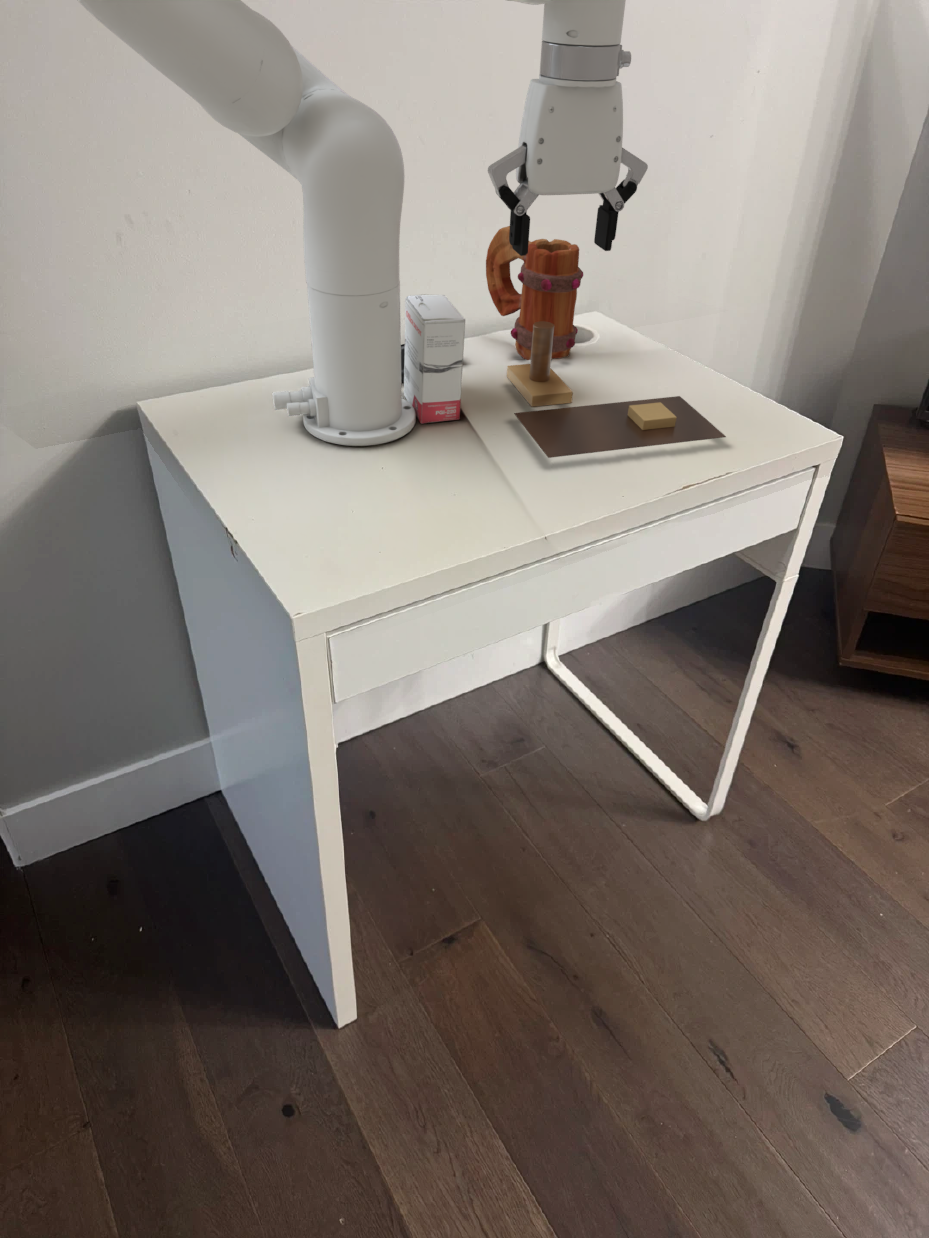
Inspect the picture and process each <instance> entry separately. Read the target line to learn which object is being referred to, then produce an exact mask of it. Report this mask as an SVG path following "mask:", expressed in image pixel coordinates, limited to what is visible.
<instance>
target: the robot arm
mask: <svg viewBox="0 0 929 1238" xmlns="http://www.w3.org/2000/svg"><path fill="white" fill-rule="evenodd" d="M77 1H78V3H79V4H80V5H81V6H82V7H83V8H84V9H85V10H86V11H87V12H88V13H89V14H90V15H92V16H93V17H94V18H95V19H96V20H97V21H98V22H99V23H101V24H102V25H103V26H104V27H105V28H106V29H108V30H109V31H110V32H111V33H112V34H114V35H115V36H116V37H117V38H119V39H120V40H121V41H122V42H123V43H125V44H126V45H127V46H128V47H130V48H131V49H132V50H133V51H134V52H135V53H137V54H139V56H141V57H142V58H143V59H144V60H145V61H146V62H147V63H149V65H151V66H152V67H153V68H154V69H156V70H157V71H158V72H159V73H161V74H162V75H163V76H165V77H166V78H167V79H168V80H169V81H171V82H172V83H173V84H174V85H176V86H177V87H178V88H180V89H181V90H182V91H184V92H185V93H186V94H187V95H188V96H189V97H191V98H192V99H194V101H195V102H197V104H199V106H201V107H202V109H203V110H204V111H205V112H206V114H208V116H210V118H212V119H213V120H214V121H215V122H217V123H218V124H220V125H221V126H223V127H224V128H226V129H228V130H230V131H232V132H234V133H237V134H238V135H240V136H241V137H242V138H243V139H245V140H246V141H247V142H249V143H250V145H252V146H253V147H255V148H256V149H257V150H258V151H260V152H261V153H263V154H264V155H265V156H266V157H267V158H268V159H270V160H272V161H273V162H274V163H276V164H277V165H278V166H279V167H281V168H282V169H283V170H285V171H286V172H287V173H289V174H290V175H291V176H292V177H293V178H294V179H295V180H297V181H298V183H299V184H300V185H301V189H302V191H301V192H302V203H303V204H302V205H303V208H302V209H303V217H302V218H303V225H302V228H303V232H302V235H303V238H302V239H303V259H304V260H303V262H304V263H303V264H304V273H305V274H304V275H305V283H306V291H307V306H308V317H309V330H310V331H309V332H310V340H311V355H312V367H313V368H312V369H313V377H308V385H307V386H301V387H300V390H293V391H289V390H282V391H281V390H279V391H272V393H271V395H272V404H273V409H274V411H277V410H278V411H279V410H286V411H287V417H295V416H300V415H302V420H303V421H302V422H303V426H304V428H305V430H306V431H307V432H308V433H309V434H311V435H312V436H314V437H315V438H317V439H319V440H322V441H323V442H326V443H331V444H333V445H340V446H350V447H367V446H368V447H369V446H376V445H381V444H386V443H389V442H393V441H396V440H398V439H400V438H402V437H404V436H405V435H407V434H408V433H410V432H411V431H412V429H414V427H415V425H416V418H417V416H416V413H415V409H414V407H413V406H412V405H411V404H410V403H409V402H408V401H407V399H406V398H403V397H402V396H403V395H402V394H403V393H402V391H403V390H402V389H403V388H402V382H401V345H402V334H401V333H402V332H401V330H402V329H401V326H402V325H401V324H402V323H401V322H402V321H401V280H400V279H401V278H400V237H401V236H400V235H401V231H400V230H401V221H402V211H403V202H404V195H405V194H404V193H405V164H404V163H405V162H404V157H403V152H402V149H401V146H400V142H399V140H398V139H397V136H396V134H395V132H394V130H393V129H392V128H391V126H390V125H389V123H388V122H387V121H386V120H385V119H384V117H383V116H382V115H380V114H379V113H378V112H377V111H376V110H374V108H372V107H370V106H368V105H367V104H365V103H364V102H362V101H360V100H358V99H356V98H354V97H353V96H351V95H350V94H348V93H347V92H345V91H344V90H343V89H342V88H341V87H340V86H338V84H336V83H335V82H333V81H332V79H331V78H329V77H328V76H326V74H324V72H322V71H321V70H320V68H319V69H318V67H317V66H315V65H314V64H313V63H312V62H311V61H310V60H309V59H307V58H306V56H304V55H303V54H302V53H301V52H300V51H298V49H296V48H295V46H293V45H292V44H291V43H290V41H289V39H288V38H287V37H286V36H285V34H284V33H283V32H282V30H281V29H280V28H279V27H278V26H276V25H275V23H273V22H272V21H271V20H270V19H268V18H267V17H266V16H264V15H262V14H261V13H259V12H257V11H256V10H254V9H252V8H251V7H250V6H248V5H247V4H246V3H245V2H244V1H242V0H77ZM506 1H509V2H517V3H521V4H525V5H532V6H539V5H543V17H542V18H543V19H542V31H541V45H540V46H541V47H540V61H539V75H538V78H532V79H530V81H529V84H528V89H527V92H526V98H525V102H524V107H523V113H522V116H521V117H522V118H521V124H520V131H519V137H518V145H517V148H516V149H514V150H512V151H511V152H510V153H508V154H506V155H504V156H503V157H501V158H500V159H497V160H496V161H494V162H493V163H491V164H490V165H488V167H487V173H488V177H489V178H490V181H491V183H492V186H493V187H494V190H495V193H496V195H497V196H498V198H500V200H501V201H502V202H503V203H504V205H506V207H507V209H509V210H510V215H509V226H510V230H509V242H510V244H511V245H512V248H513V249H514V250H515V251H516V252H517V253H518V254H519V255H520V256H525V255H526V254H528V244H529V241H530V229H531V217H530V215H528V213H527V212H528V210H529V209H530V207H531V206H532V205H533V203H534V202H535V201H536V200H537V198H539V196H569V195H571V196H572V195H593V194H594V195H595V194H598V195H599V197H600V199H601V200H602V204H599V205H598V206H599V207H598V208H597V214H596V222H595V230H594V239H593V242H594V245H596V246H597V247H599V248H600V249H601V250H603V251H604V252H611V251H612V246H613V241H615V239H616V236H617V228H618V220H619V212H621V211H623V209H624V208H625V204H626V203H627V202H628V201H629V200H630V199H631V198H632V196H634V195H635V193H637V190H638V185H640V183H641V181H642V180H643V178H644V176H645V174H646V173H647V171H648V167H649V166H648V163H647V162H645V161H644V160H642V159H640V158H639V157H637V156H636V155H635V154H633V153H632V152H630V151H628V150H627V149H626V148H625V147H623V139H624V138H623V137H624V102H623V99H624V98H623V87H622V83H621V82H620V81H617V78H618V77H619V76H620V70H621V69H623V68H629V67H630V66H631V62H632V53H631V51H629V50H624V49H623V45H622V43H621V42H622V35H623V25H624V18H625V10H626V0H506ZM621 165H623V166H625V167H626V168H627V173H626V175H625V178H624V179H622V181H621V182H620V183H619V184H618V181H619V177H620V170H621ZM513 171H515V179H516V181H517V183H518V186H517V187H516V188H515V190H514V191H513V190H512V189H511V188H510V186H509V184H508V181H507V176H508V175H509V174H510V173H511V172H513ZM617 184H618V185H617Z"/></svg>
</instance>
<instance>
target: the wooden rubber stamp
mask: <svg viewBox="0 0 929 1238" xmlns="http://www.w3.org/2000/svg"><path fill="white" fill-rule="evenodd" d="M553 335H554V324H552V323H550V322H545V321H540V322H536V323H534V324H533V336H532V348H531V360H529V361H530V363H524V364H512V365H507V367H506V377H507V379H508V380H509V381H510V382H511V384H512V385H513V386H514V387H515V388H516V390H517V391H518V392H519V393H520V395H521V396H522V397H523V398H524V400H525V401H526V402H527V404H529V405H530V407H531V408H532V407H545V406H553V405H554V406H555V405H563V404H572V402H573V393H574V391H573V390H572V389H571V388H570V387H569V386H568V385H567V384H566V383H565V381H564V380H562V378H561V377H560V376H559V375H558V374H557V373H556V372H555V371H554V369H552V368H551V366H552V365H551V364H552V358H551V356H552V346H553Z"/></svg>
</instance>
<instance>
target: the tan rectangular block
mask: <svg viewBox="0 0 929 1238" xmlns="http://www.w3.org/2000/svg"><path fill="white" fill-rule="evenodd" d="M628 416H629V417H630V418H631V419H632V420H633V421H634V422H635V423H636V424H637V425H638V426H639V427H640V428H641V429H642V430H650V429H659V428H668V427H675V423H676V418H677V417H676V416H675V415H674V414H673V413H672V412H671V411H669V410H668V409H667V408H666V407H665V406H664V405H663V404H662V403H661V402H659V403H650V404H640V405H630V406H629V409H628Z"/></svg>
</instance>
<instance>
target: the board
mask: <svg viewBox="0 0 929 1238" xmlns="http://www.w3.org/2000/svg"><path fill="white" fill-rule="evenodd" d="M659 402H661V403H662V404H663V405H664V406H665V407H666V408H667V409H668V410H669V411H671V412H672V413H673V414H674V415H675V416H676V417H677V418H676V423H675V427H668V428H659V429H650V430H642V429H641V428H640V427H639V426H638V425H637V424H636V423H635V422H634V421H633V420H632V419H631V418H630V417H629V416H628V409H629V406H630V405H640V404H650V403H659ZM514 415H515V417H516V418H517V419H518V421H519V422H520V423H521V424H522V426H523V428H525V430H526V431H527V432H528V434H529V435H530V436H531V438H532V439H533V440H534V441H535V443H536V444H537V445H538V447H539V448H540V449H541V451H542V452H543V454H544V455H545V456H546V457H547V458H548V459H550V458H560V457H566V456H575V455H576V456H577V455H584V454H593V453H601V452H609V451H620V450H628V449H636V448H637V449H638V448H644V447H653V446H662V445H671V444H678V443H679V444H680V443H688V442H697V441H705V440H711V439H721V438H727V436H726V435H725V434H724V433H723V432H722V431H721V430H719V429H718V428H717V427H716V426H715V425H714V424H713V423H711V422H710V421H709V420H708V419H707V418H706V417H704V416H703V415H702V414H701V413H700V412H699V411H697V410H696V408H694V407H693V406H692V405H691V404H690V403H688V402H687V401H686V400H685V399H684V398H683V397H681V396H680V395H677V396H667V397H658V398H657V397H656V398H648V399H637V400H628V401H617V402H609V403H600V404H599V403H597V404H589V405H580V406H567V407H559V408H551V409H550V408H549V409H541V410H530V411H521V412H514Z"/></svg>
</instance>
